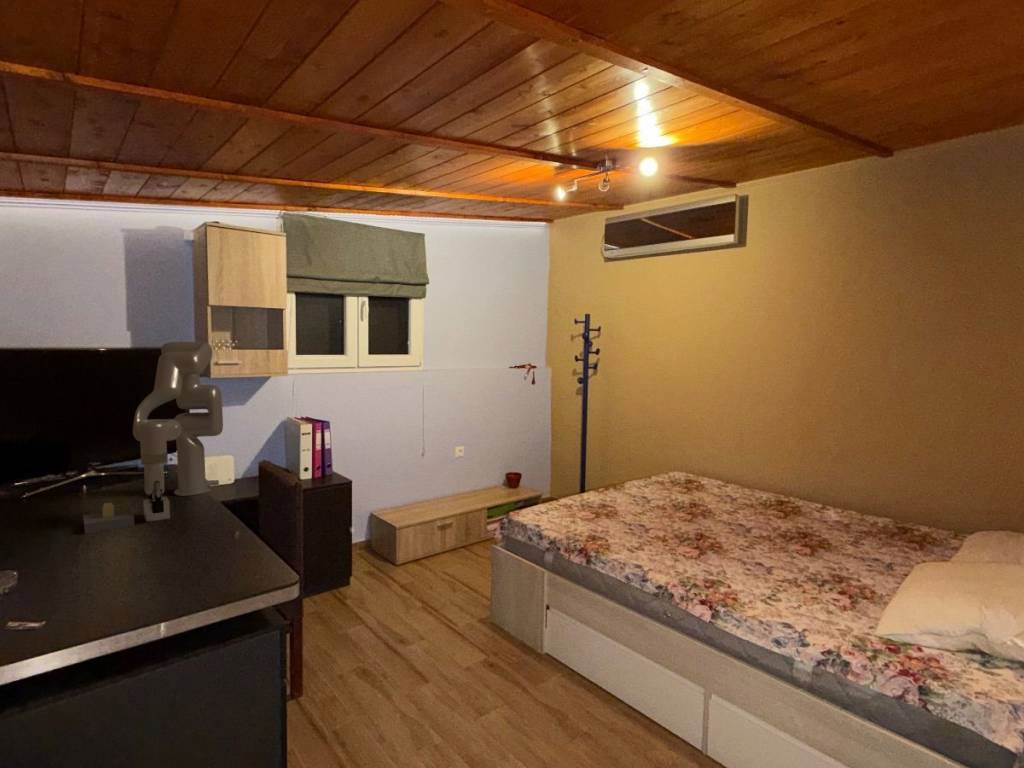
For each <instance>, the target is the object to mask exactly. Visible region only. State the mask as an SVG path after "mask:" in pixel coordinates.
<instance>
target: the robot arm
mask: <svg viewBox="0 0 1024 768" xmlns="http://www.w3.org/2000/svg"><path fill="white" fill-rule="evenodd" d="M160 350H161V355H159V357H158V362H157V367H156V373H155V379H154V387H153V390H152V392H151V393H149V394H148V395H147V396H146V397H145V398H144V399H143V400H142V401H141V402H140V403H139V405H138V406H137V408H136V410H135V413H134V414H135V415H134V418H133V425H132V435H133V437H134V439H135V440H137V441H138V442H139V443H140V446H139V447H140V463H141V464H140V465H141V466H144V471H143V472H144V473H143V474H144V477H143V478H144V492H145V494H146V495H147V496H148V499H153V501H152V513H153V514H154V513H161V512H164V504H163V497H164V496H163V493H164V492H165V470H164V464H167V463H168V450H167V449H168V447H167V445H168V444H167V442H171V441H174V440H175V442H176V455H177V456H176V457H177V459H176V460H177V477H178V479H177V481H178V488H177V489H175V490H174V492H173V494H174V495H175V496H179V497H180V496H181V497H182V496H183V497H185V496H187V497H188V496H196V495H198V496H199V495H202V494H207V493H209V492H210V491H211V486H218V485H220V481H219V479H216V480H214V479H213V480H212V479H211V480H208V479H207V478H206V462H205V461H206V459H205V457H206V456H205V455H206V454H205V447H204V444H203V443H202V441H201V440H200V439H199V437H201V438H202V437H217V436H220V435H221V433H223V428H224V417H223V416H224V415H223V414H224V413H223V398H222V391H221V389H220V388H219V387H218V386H217V385H214V384H201V381H200V374H201V373H203V372H204V371H205V369H206V368H207V366H208V365H209V364H210V363H211V361H212V358H213V348H212V346H211V344H209V343H208V342H206V341H172V342H166V343H164V344H162V346H161V348H160ZM175 399H176V400H175ZM173 400H175V401H176V405H177V407H178V408H180V409H182V410H207V412H202V411H201V412H183V413H179V414H177V415H176V416H175V417H174V418H167V419H166V418H165V419H164V418H161V419H158V418H157V419H156V418H154V419H153V418H152V419H151V418H150V419H148V417H149V415H150V413H151V412H152V411H153V410H155V409H157V408H158V407H159V406H162V405H164V404H165V403H168V402H170V401H173Z"/></svg>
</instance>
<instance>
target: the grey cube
mask: <svg viewBox="0 0 1024 768" xmlns="http://www.w3.org/2000/svg"><path fill="white" fill-rule="evenodd" d="M152 501H153V499H149V498H146V499H143V518H144V520H145V522H147V523H149V522H155V521H161V520H168V519H171V515H170V514H171V512H170V511H171V507H170V500H169V498H168V497H167V496H163V504H164V512H161V513H154V514H153V513H152Z"/></svg>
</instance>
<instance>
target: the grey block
mask: <svg viewBox="0 0 1024 768" xmlns="http://www.w3.org/2000/svg"><path fill="white" fill-rule="evenodd" d="M101 507H102V508H101V510H102V512H95V513H90V514H89V513H88V514H83V515H82V516H83V517H82V519H83V528H84V534H92V533H99V532H106V531H112V530H118V529H123V528H130V527H135V516H134V514H133V511H132V509H131V508H124V509H118V510H117V509H116V510H115V506H114V504H113V503H112V502H107V503H103V505H102V506H101Z"/></svg>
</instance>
